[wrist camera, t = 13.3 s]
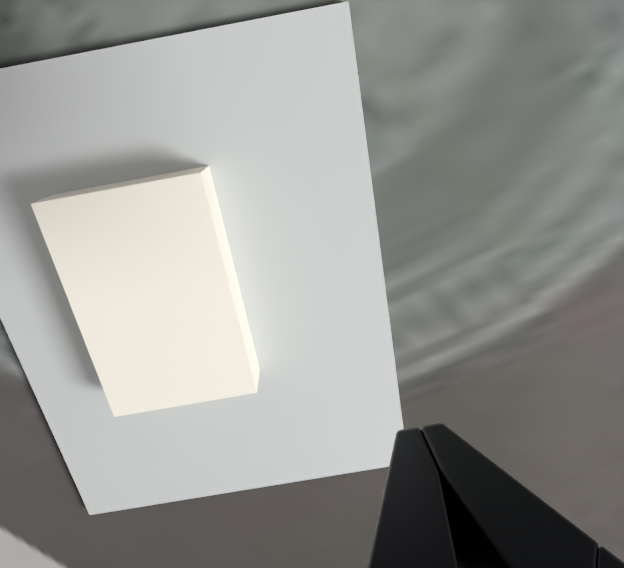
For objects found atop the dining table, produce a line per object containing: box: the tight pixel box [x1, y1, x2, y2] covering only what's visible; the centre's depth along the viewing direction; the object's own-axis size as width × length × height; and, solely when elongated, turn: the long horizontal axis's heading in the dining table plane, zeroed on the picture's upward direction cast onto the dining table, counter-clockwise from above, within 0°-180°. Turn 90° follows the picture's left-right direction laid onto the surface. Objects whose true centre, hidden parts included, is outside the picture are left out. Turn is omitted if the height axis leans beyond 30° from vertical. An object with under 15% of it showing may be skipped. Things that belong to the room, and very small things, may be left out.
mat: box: [0, 1, 403, 515], centre depth 20 cm, size 20×16×1 cm
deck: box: [31, 166, 260, 417], centre depth 19 cm, size 9×2×6 cm
